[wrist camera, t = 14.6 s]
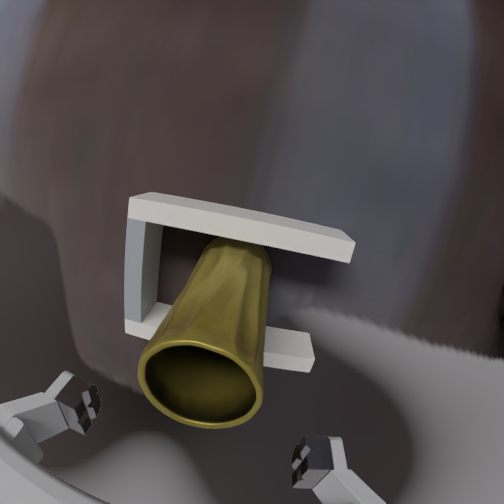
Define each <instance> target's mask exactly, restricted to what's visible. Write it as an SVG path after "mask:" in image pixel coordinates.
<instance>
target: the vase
mask: <svg viewBox="0 0 504 504" xmlns="http://www.w3.org/2000/svg"><path fill="white" fill-rule="evenodd" d="M271 272H272V265H271V261H270V258H269V256H268V254H267V252H266V250H265V249H264V248H263V247H262V245H260V244H256V243H251V242H246V241H241V240H236V239H231V238H226V237H221V236H220V237H218V238H215V239H214V240H212V241H211V242H210V243H209V244H208V245H207V246H206V247H205V248H204V250H203V252H202V254H201V257H200V258H199V260H198V262H197V264H196V266H195V268H194V270H193V272H192V274H191V276H190V278H189V280H188V282H187V284H186V286H185V288H184V289H183V291H182V292H181V293H180V295H179V296H178V298H177V299H176V301H175V302H174V304H173V306H172V307H171V309H170V310H169V312H168V313H167V315H166V316H165V318H164V319H163V321H162V322H161V324H160V326H159V327H158V329H157V330H156V332H155V333H154V335H153V337H152V338H151V339H150V341H149V342H148V344H147V345H146V347H145V349H144V351H143V352H142V355H141V357H140V362H139V366H138V379H139V382H140V386H141V388H142V390H143V392H144V393H145V395H146V397H147V398H148V399H149V401H150V402H151V403H152V404H153V405H154V406H155V407H156V408H158V409H159V410H160V411H161V412H163V413H164V414H166V415H167V416H169V417H171V418H172V419H174V420H176V421H178V422H181V423H184V424H187V425H191V426H195V427H200V428H206V429H220V428H229V427H234V426H237V425H240V424H242V423H244V422H246V421H248V420H249V419H250V418H251V417H252V416H253V415H254V414H255V413H256V412H257V411H258V409H259V408H260V406H261V404H262V401H263V363H264V346H265V330H266V318H267V305H268V292H269V282H270V278H271Z"/></svg>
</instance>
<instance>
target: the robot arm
mask: <svg viewBox="0 0 504 504" xmlns="http://www.w3.org/2000/svg"><path fill="white" fill-rule="evenodd" d="M97 392H98V388H97V386H96V385H94V384H92V383H90V382H88V381H86V380H84V379H82V378H80V377H77V376H76V375H74V374H72V373H70V372H67V371H65V372H63V373H62V374H61V375H60V376H59V377H58V378H57V379H56V381H55V382H54V383H53V384H52V385H51V386H50V388H49V389H48V390H47V391H46V393H43V392H41V393H37V394H34V395H31V396H27V397H25V398H21V399H17V400H14V401H10V402H7V403H3V404H0V504H110V503H107V502H105V501H103V500H101V499H98V498H96V497H94V496H92V495H90V494H88V493H86V492H84V491H82V490H80V489H78V488H76V487H75V486H73V485H71V484H69V483H68V482H66V481H64V480H62V479H61V478H59V477H57V476H56V475H54V474H52V473H51V472H49V471H48V470H46V469H45V468H43V467H42V466H40V465H39V464H38V463H39V461H40V460H41V458H42V456H43V452H42V450H41V449H40V447H39V446H38V445H37V443H39V442H41V441H43V440H45V439H47V438H49V437H52V436H54V435H56V434H58V433H60V432H62V431H64V430H66V429H68V427H70V428H71V429H73V430H76V431H77V432H80V433H82V434H84V435H86V433H87V431H88V430H89V428H90V427H91V425H92V423H91V419H93V418H96V417H97V415H98V413H99V411H100V408H101V400H100V397H99V396H98V395H97ZM292 467H293V468H294V469H295V471H294V472H293V474H292V488H309V489H312V490H313V491H314V492H315V494H316V495H317V497H318V498H319V500H320V501H321V502H322V503H323V504H386V503H385V502H384V501H383V500H382V499H381V498H380V497H379V496H378V495H377V494H375V492H373V491H372V490H371V489H370V488H369V487H368V486H367V485H366V484H365V483H364V482H363V481H362V480H361V479H360V478H359V477H358V476H357V475H356V474H355V473H354V472H353V471H352V470H348V469H347V463H346V458H345V453H344V448H343V442H342V439H341V438H340V437H325V436H323V437H322V436H302V437H301V439H300V444H299V445H297V446H296V447H295V449H294V451H293V454H292Z"/></svg>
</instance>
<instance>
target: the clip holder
mask: <svg viewBox="0 0 504 504" xmlns="http://www.w3.org/2000/svg"><path fill="white" fill-rule="evenodd" d="M163 225H166V226H171V227H177V228H182V229H187V230H192V231H197V232H202V233H207V234H211V235H216V236H221V237H226V238H231V239H236V240H241V241H246V242H251V243H256V244H260V245H265V246H270V247H275V248H280V249H285V250H289V251H294V252H299V253H304V254H308V255H313V256H318V257H323V258H327V259H332V260H337V261H341V262H346V263H350V260H351V257H352V253H353V250H354V246H355V242H354V241H353V240H352V239H351V238H350V237H348V236H347V235H346V234H345V233H344V232H343V231H342V230H339V229H334V228H330V227H326V226H322V225H317V224H313V223H309V222H304V221H300V220H295V219H291V218H286V217H281V216H277V215H272V214H267V213H263V212H258V211H253V210H248V209H243V208H238V207H233V206H228V205H222V204H217V203H212V202H207V201H201V200H196V199H190V198H184V197H179V196H173V195H167V194H161V193H155V192H149V193H145V194H141V195H137V196H133V197H130V198H129V208H128V218H127V231H126V248H125V277H124V305H125V333H128V334H131V335H134V336H137V337H141V338H144V339H147V340H150V339H151V338H152V337H153V335H154V333H155V332H156V330H157V329H158V327H159V326H160V324H161V322H162V321H163V319H164V318H165V316H166V315H167V313H168V312H169V310H170V309H171V307H172V305H168V304H164V303H160V302H157V292H158V277H159V264H160V253H161V242H162V233H163ZM314 360H315V357H314V353H313V348H312V344H311V339H310V335H309V333H304V332H298V331H292V330H286V329H280V328H274V327H269V326H266V330H265V346H264V363H263V366H266V367H272V368H279V369H285V370H293V371H301V372H310V370H311V368H312V365H313V363H314Z"/></svg>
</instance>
